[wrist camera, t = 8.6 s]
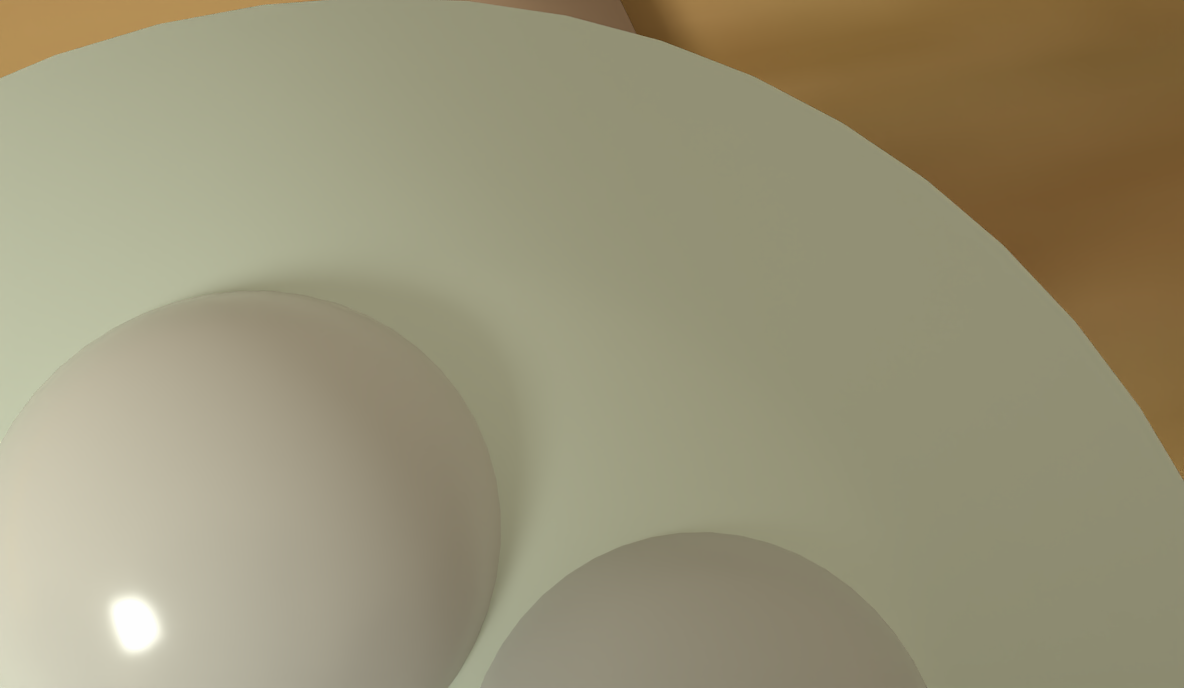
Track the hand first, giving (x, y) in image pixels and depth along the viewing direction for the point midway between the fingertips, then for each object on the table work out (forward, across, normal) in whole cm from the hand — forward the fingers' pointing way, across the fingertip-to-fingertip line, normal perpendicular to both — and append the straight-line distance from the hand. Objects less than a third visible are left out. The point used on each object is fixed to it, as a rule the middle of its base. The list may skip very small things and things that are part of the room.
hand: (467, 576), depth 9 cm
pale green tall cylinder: (+3, 0, +5) cm, 6 cm away
